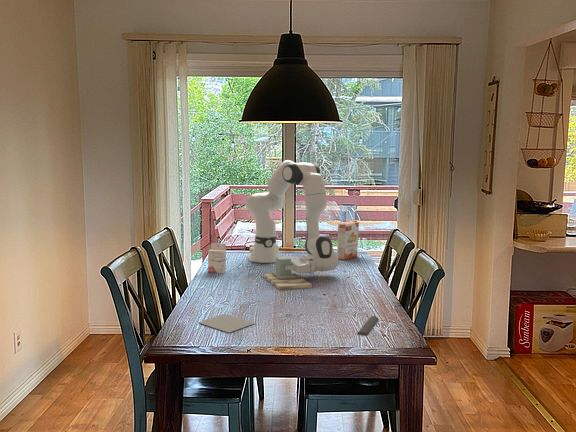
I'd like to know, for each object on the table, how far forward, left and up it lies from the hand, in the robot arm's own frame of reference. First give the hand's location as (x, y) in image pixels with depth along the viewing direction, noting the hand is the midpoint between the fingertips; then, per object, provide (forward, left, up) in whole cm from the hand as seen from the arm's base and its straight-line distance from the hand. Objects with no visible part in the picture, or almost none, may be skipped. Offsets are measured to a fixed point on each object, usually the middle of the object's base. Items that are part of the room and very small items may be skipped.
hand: (281, 265), depth 277 cm
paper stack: (+57, -35, -8) cm, 67 cm away
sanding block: (0, +1, -6) cm, 6 cm away
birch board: (+5, +1, -7) cm, 9 cm away
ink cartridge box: (-24, -27, -7) cm, 37 cm away
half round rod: (+75, +9, -8) cm, 76 cm away
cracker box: (-36, +54, -7) cm, 65 cm away
